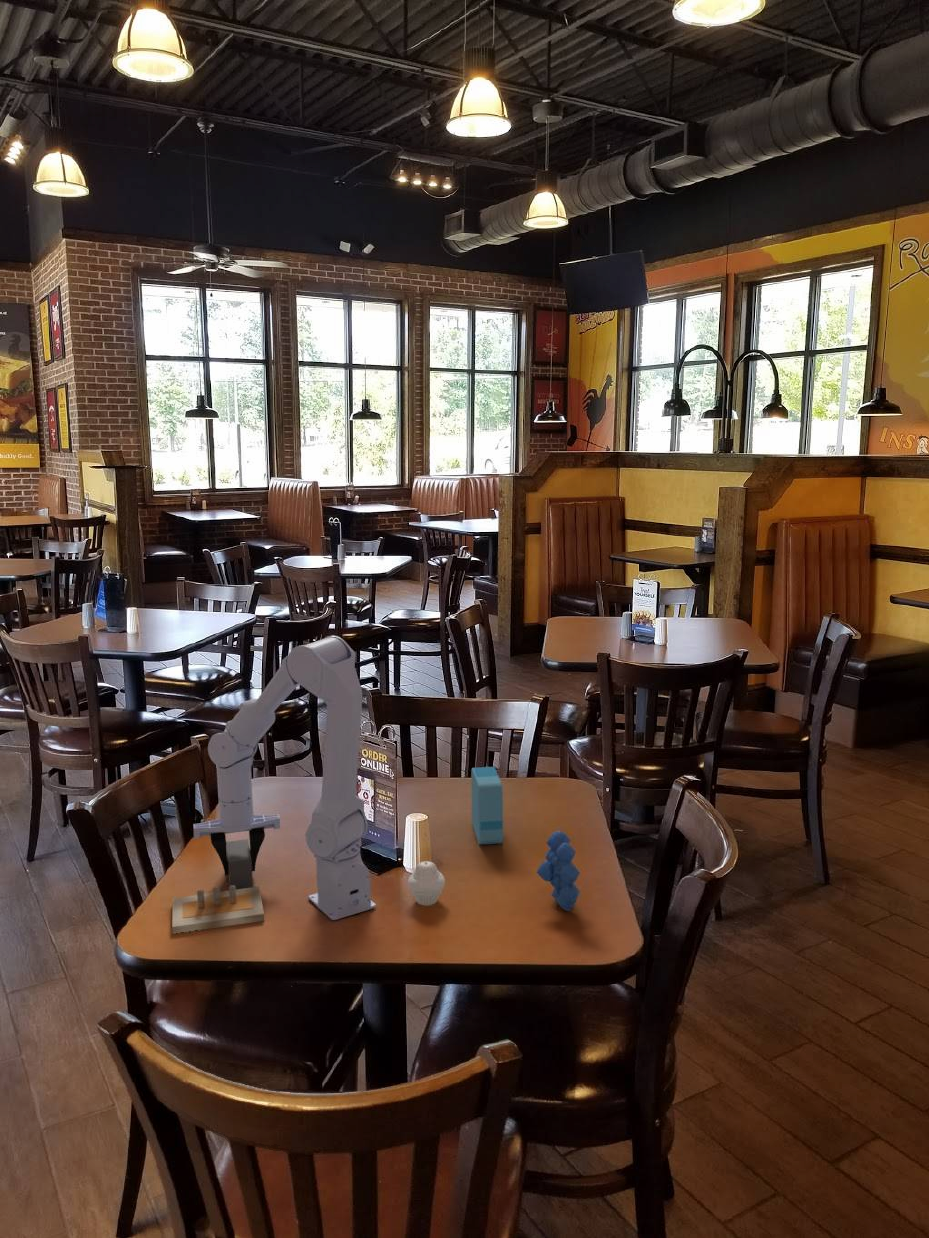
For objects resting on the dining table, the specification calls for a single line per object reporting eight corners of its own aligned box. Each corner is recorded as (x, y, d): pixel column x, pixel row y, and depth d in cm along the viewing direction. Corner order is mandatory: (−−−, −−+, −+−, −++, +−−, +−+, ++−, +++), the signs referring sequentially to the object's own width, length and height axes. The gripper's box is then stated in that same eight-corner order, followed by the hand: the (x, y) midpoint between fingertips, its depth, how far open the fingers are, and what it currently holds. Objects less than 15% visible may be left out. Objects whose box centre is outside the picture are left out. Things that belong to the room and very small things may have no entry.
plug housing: (227, 869, 170) (226, 841, 169) (249, 866, 171) (247, 839, 170) (230, 890, 162) (228, 862, 161) (253, 887, 163) (251, 859, 162)
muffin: (432, 913, 153) (431, 872, 152) (401, 904, 156) (399, 864, 155) (452, 897, 158) (451, 858, 157) (421, 889, 162) (421, 850, 160)
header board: (259, 892, 161) (258, 869, 160) (264, 920, 151) (263, 896, 151) (173, 905, 157) (171, 881, 156) (172, 934, 148) (170, 909, 147)
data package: (503, 846, 179) (502, 785, 177) (479, 847, 178) (478, 786, 176) (493, 821, 190) (493, 764, 188) (471, 822, 190) (471, 765, 188)
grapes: (527, 889, 161) (527, 822, 159) (565, 885, 162) (566, 819, 160) (546, 923, 150) (546, 851, 148) (587, 918, 151) (588, 847, 149)
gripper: (275, 784, 170) (279, 855, 172) (191, 793, 166) (196, 866, 168) (279, 798, 163) (283, 872, 165) (192, 808, 159) (197, 883, 161)
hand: (239, 870), depth 166 cm, fingers closed on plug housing, 4 cm apart
